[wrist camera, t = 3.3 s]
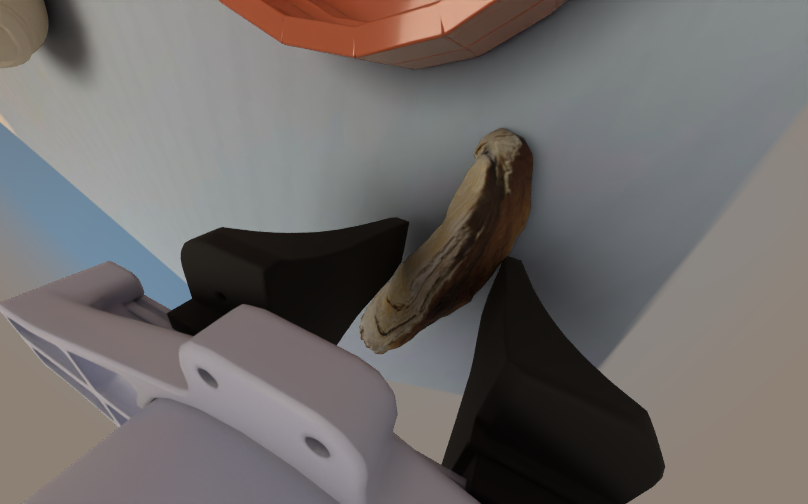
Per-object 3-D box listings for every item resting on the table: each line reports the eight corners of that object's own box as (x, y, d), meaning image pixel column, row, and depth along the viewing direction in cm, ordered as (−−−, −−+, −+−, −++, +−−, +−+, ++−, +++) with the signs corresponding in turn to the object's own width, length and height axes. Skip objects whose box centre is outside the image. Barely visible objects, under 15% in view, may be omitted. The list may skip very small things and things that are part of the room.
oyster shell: (480, 172, 15) (393, 335, 16) (429, 131, 13) (332, 318, 14) (591, 179, 10) (455, 421, 11) (533, 113, 8) (372, 411, 9)
